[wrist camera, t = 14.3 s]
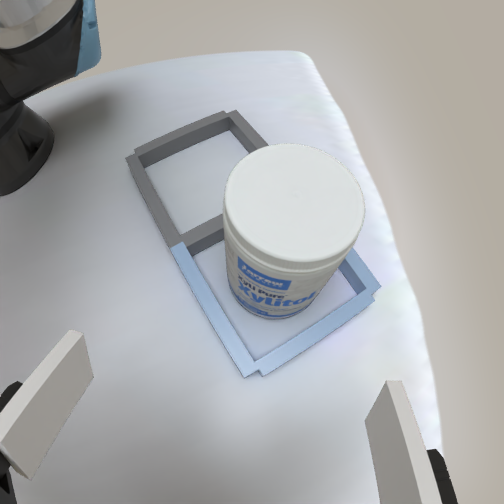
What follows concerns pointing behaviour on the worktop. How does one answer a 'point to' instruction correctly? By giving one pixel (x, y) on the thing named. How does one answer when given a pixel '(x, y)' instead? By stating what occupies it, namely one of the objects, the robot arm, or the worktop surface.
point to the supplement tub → (288, 226)
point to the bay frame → (214, 233)
